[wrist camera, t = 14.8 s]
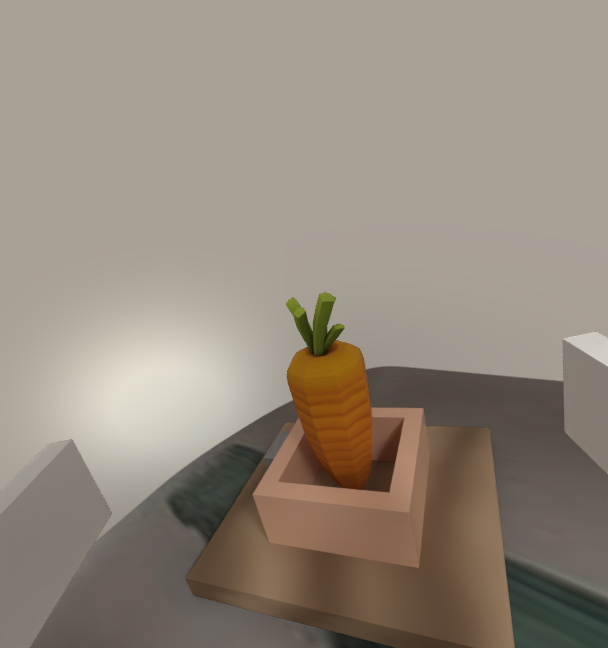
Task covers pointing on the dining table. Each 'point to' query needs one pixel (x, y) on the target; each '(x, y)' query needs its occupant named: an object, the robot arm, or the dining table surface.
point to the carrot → (332, 396)
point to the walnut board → (380, 577)
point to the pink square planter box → (350, 495)
